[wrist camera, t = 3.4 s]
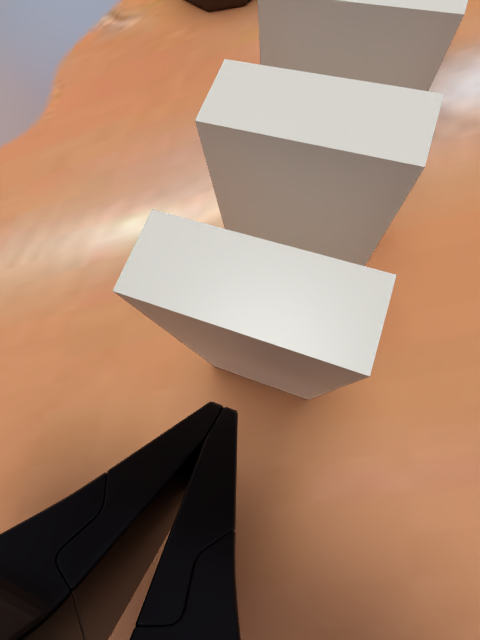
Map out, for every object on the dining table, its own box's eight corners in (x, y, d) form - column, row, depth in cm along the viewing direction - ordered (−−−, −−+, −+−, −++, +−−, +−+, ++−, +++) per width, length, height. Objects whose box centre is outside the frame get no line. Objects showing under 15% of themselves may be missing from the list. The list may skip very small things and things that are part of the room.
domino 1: (308, 400, 16) (369, 375, 6) (213, 365, 17) (112, 291, 7) (319, 362, 17) (396, 274, 6) (226, 331, 18) (152, 209, 7)
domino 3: (355, 245, 18) (464, 13, 8) (267, 223, 19) (257, -9, 9) (364, 215, 19) (478, -42, 8) (278, 195, 20) (280, -57, 9)
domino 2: (333, 318, 17) (424, 167, 7) (241, 290, 18) (195, 120, 8) (343, 285, 18) (444, 93, 7) (253, 259, 19) (225, 59, 8)
